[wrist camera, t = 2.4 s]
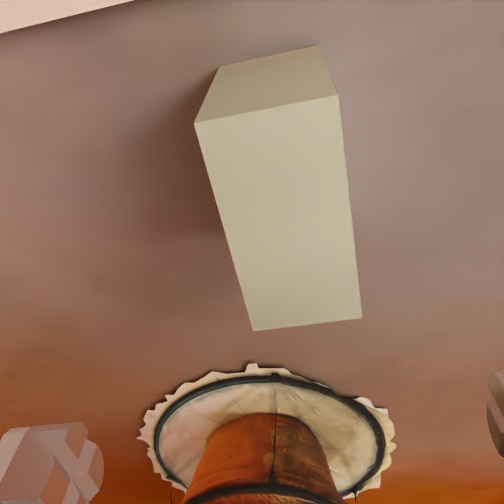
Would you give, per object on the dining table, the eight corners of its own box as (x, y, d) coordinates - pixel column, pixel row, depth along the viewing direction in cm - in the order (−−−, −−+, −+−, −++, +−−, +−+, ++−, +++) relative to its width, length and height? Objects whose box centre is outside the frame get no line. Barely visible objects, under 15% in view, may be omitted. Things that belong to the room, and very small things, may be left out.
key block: (318, 44, 18) (338, 94, 12) (340, 219, 22) (362, 317, 17) (219, 66, 19) (193, 123, 13) (259, 232, 23) (253, 331, 17)
